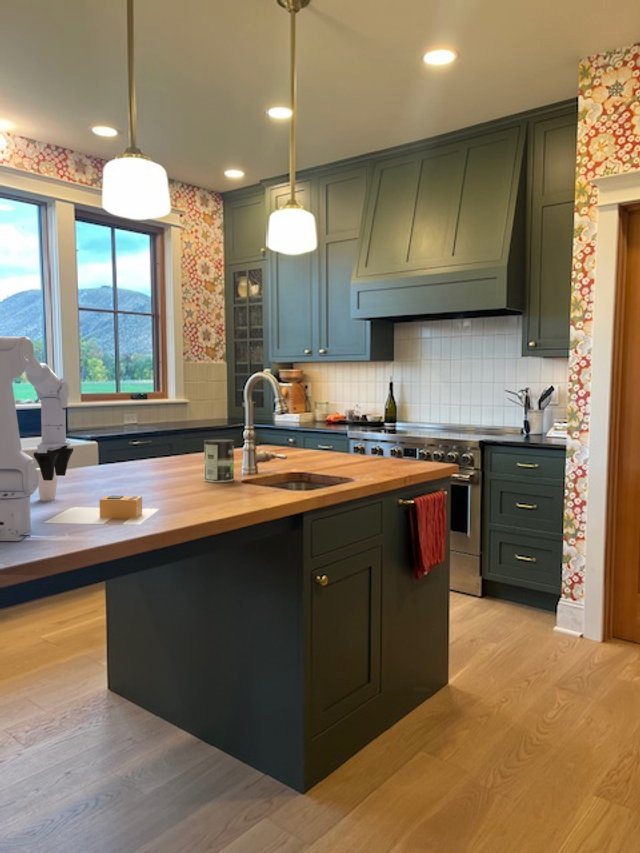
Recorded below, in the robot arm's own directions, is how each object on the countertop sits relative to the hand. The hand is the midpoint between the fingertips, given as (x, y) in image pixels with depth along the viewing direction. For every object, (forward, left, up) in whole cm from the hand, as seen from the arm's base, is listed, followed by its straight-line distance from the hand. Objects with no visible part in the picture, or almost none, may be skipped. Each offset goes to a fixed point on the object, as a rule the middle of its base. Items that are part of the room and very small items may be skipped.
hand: (54, 477), depth 161 cm
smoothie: (+14, +8, -10) cm, 19 cm away
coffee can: (+57, -33, -10) cm, 67 cm away
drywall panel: (-5, -15, -9) cm, 18 cm away
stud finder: (-5, -19, -8) cm, 21 cm away
